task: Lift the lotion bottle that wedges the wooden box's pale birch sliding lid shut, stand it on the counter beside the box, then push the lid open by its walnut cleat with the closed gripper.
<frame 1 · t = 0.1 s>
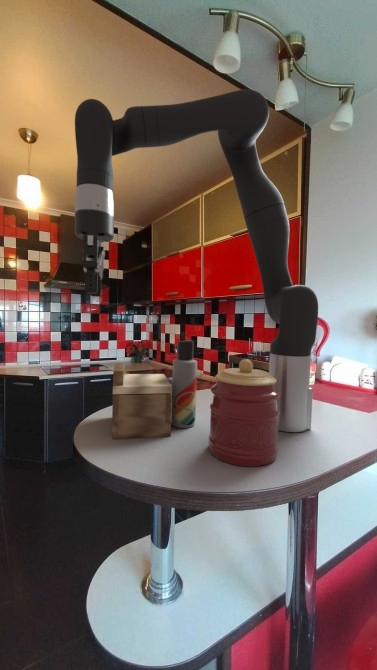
hand: (93, 294, 61), 29 cm above the breakfast bar, fingers open, 8 cm apart
wooden box: (140, 425, 69), on the breakfast bar
canister: (242, 452, 57), on the breakfast bar
lid: (141, 376, 68), point 11 cm above the breakfast bar, slide at 0.0 cm
lotion bottle: (183, 425, 71), on the breakfast bar
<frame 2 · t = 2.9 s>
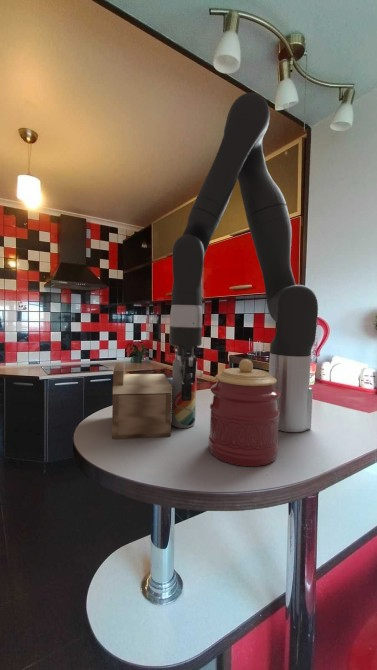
hand: (183, 396, 71), 7 cm above the breakfast bar, fingers closed on lotion bottle, 5 cm apart
lotion bottle: (183, 425, 71), on the breakfast bar, touching gripper
everything else where it was.
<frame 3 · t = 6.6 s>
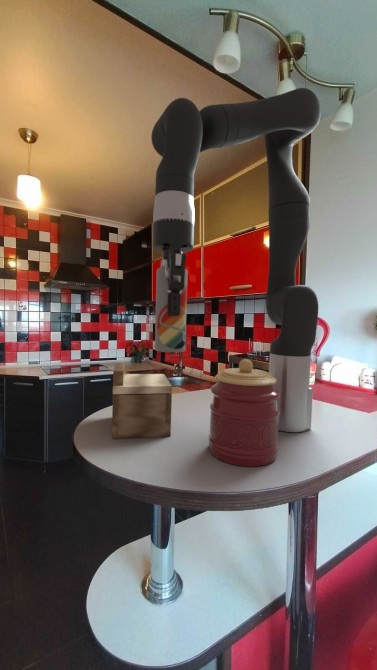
hand: (171, 315, 56), 25 cm above the breakfast bar, fingers closed on lotion bottle, 5 cm apart
lotion bottle: (170, 352, 56), point 19 cm above the breakfast bar, touching gripper
everything else where it was.
when the fingers open (8 cm above the breakfast bar, at t = 10.2 s): lotion bottle drops 2 cm, on the breakfast bar.
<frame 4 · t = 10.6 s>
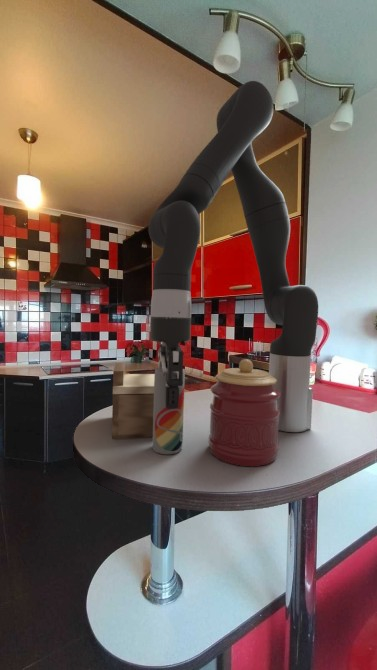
hand: (168, 401, 57), 9 cm above the breakfast bar, fingers open, 8 cm apart
lotion bottle: (167, 449, 57), on the breakfast bar
everything else where it was.
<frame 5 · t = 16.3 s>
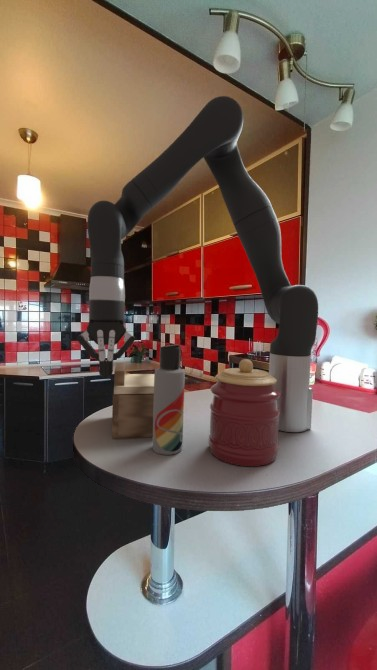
hand: (106, 377, 67), 11 cm above the breakfast bar, fingers closed
lid: (142, 376, 69), point 11 cm above the breakfast bar, slide at 0.2 cm, touching gripper
everything else where it was.
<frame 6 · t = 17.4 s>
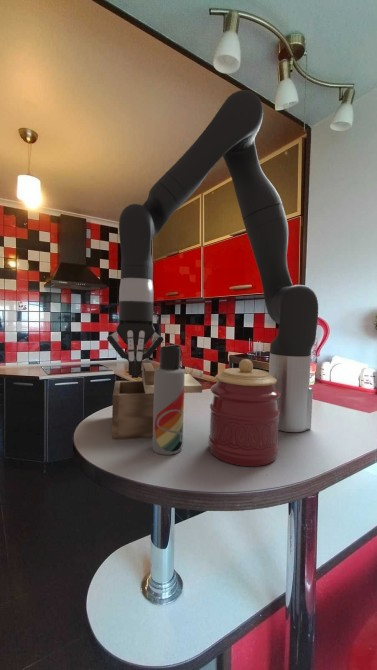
hand: (134, 377, 68), 11 cm above the breakfast bar, fingers closed
lid: (169, 376, 70), point 11 cm above the breakfast bar, slide at 6.5 cm, touching gripper
everything else where it was.
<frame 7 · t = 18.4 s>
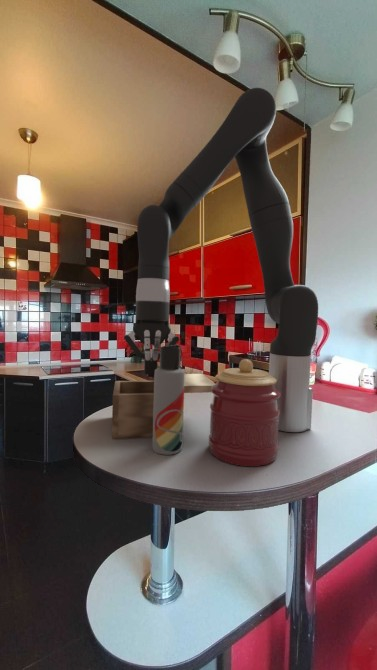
hand: (150, 376, 69), 11 cm above the breakfast bar, fingers closed
lid: (184, 376, 70), point 11 cm above the breakfast bar, slide at 10.0 cm, touching gripper
everything else where it was.
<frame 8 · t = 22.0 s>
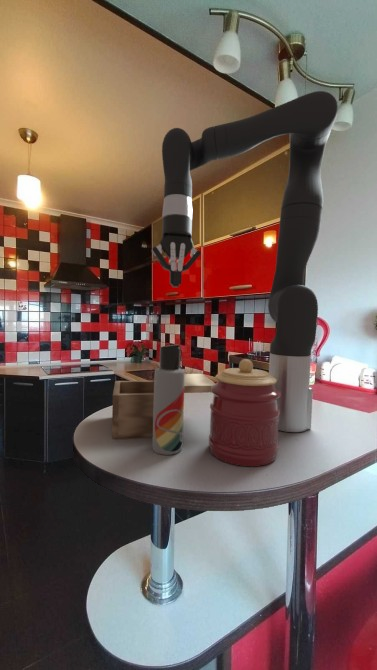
hand: (175, 286, 77), 33 cm above the breakfast bar, fingers closed
lid: (184, 376, 70), point 11 cm above the breakfast bar, slide at 10.0 cm
everything else where it was.
at the end: lid slide at 10.0 cm; lotion bottle inside the target area (0.0 cm from its centre), on the breakfast bar; lotion bottle tilted 0° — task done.
